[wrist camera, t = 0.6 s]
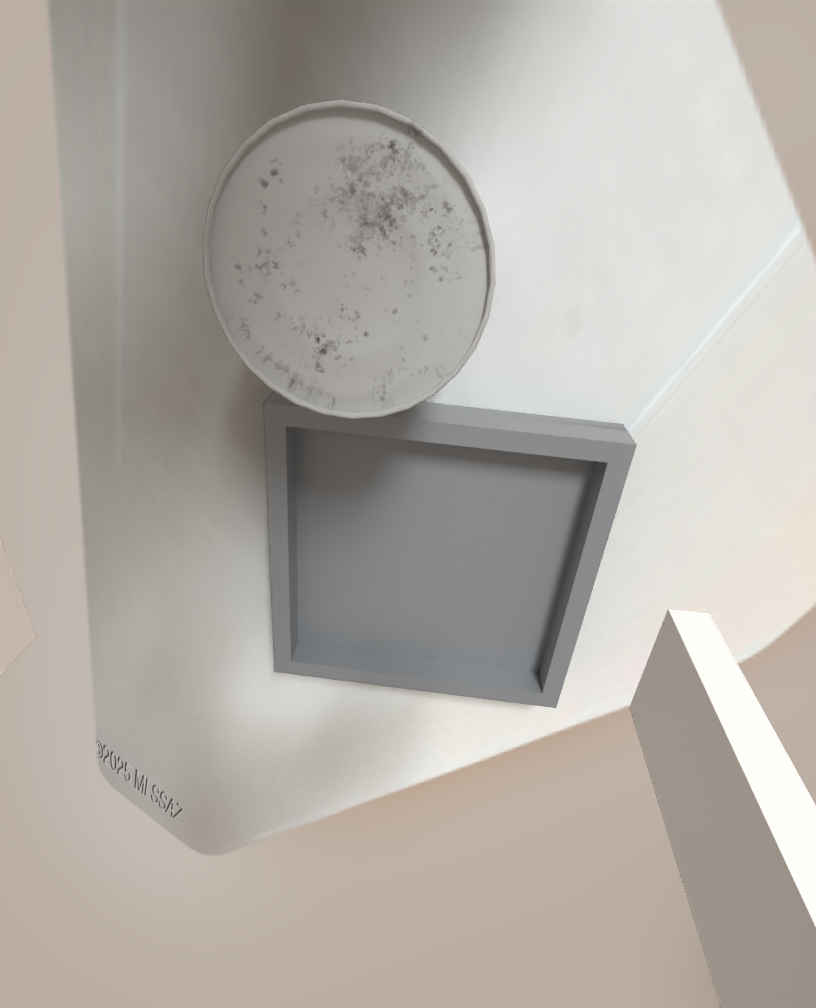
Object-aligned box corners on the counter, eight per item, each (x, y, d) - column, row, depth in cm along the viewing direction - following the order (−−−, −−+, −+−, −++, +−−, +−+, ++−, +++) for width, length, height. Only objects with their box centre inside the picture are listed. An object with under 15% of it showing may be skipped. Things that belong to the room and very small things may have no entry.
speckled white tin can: (511, 296, 30) (537, 355, 19) (351, 368, 32) (295, 456, 22) (438, 95, 26) (420, 25, 15) (263, 196, 28) (142, 198, 18)
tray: (279, 386, 33) (263, 402, 30) (622, 424, 32) (636, 444, 30) (286, 642, 43) (274, 671, 40) (550, 675, 42) (555, 707, 40)
